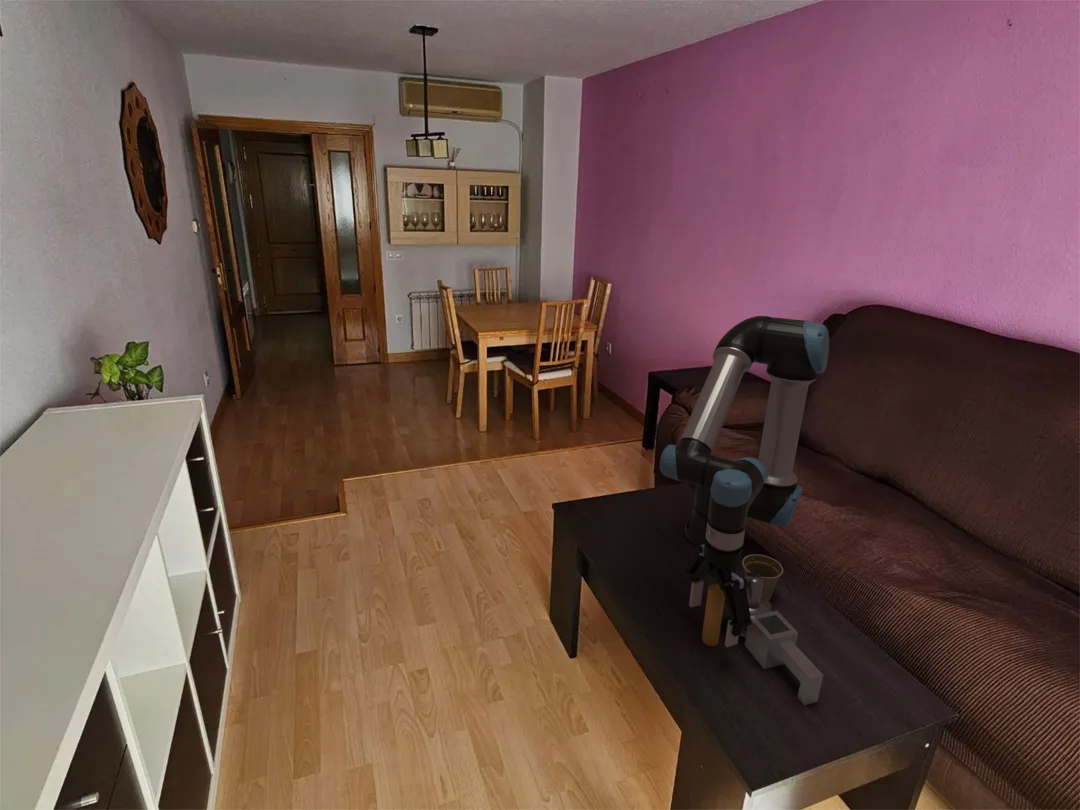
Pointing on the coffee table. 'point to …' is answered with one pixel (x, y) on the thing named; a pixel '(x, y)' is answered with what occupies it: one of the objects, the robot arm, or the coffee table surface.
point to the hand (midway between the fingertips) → (712, 623)
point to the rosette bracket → (777, 641)
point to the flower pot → (764, 571)
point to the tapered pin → (713, 615)
